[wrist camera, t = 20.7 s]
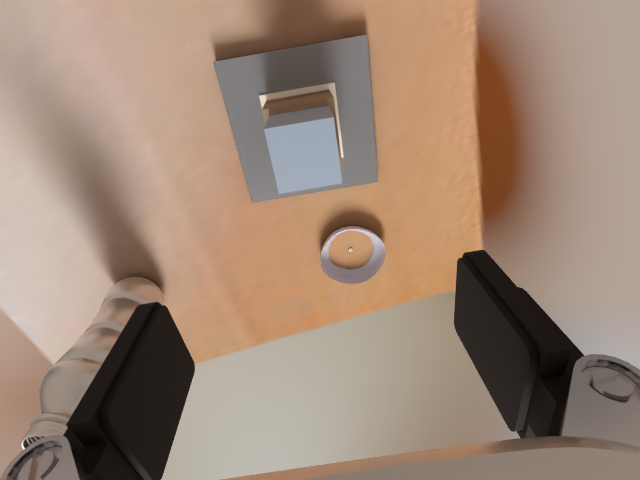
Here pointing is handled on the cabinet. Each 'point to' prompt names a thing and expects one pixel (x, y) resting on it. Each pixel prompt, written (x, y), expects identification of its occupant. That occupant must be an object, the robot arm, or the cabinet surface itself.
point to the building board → (294, 79)
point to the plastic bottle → (87, 357)
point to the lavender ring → (346, 274)
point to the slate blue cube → (303, 149)
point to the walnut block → (302, 107)
